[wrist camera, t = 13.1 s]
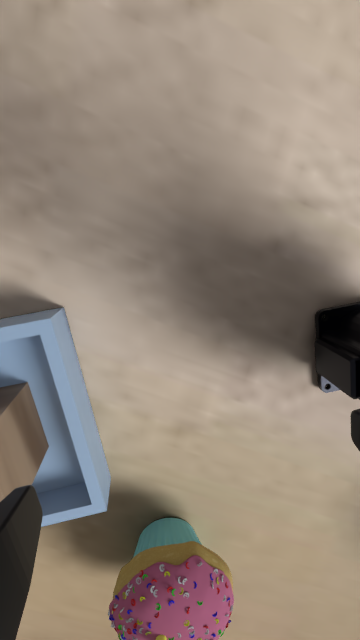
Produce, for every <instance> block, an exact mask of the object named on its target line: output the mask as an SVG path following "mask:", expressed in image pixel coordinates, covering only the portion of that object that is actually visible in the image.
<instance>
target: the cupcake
mask: <svg viewBox="0 0 360 640" xmlns="http://www.w3.org/2000/svg"><path fill="white" fill-rule="evenodd" d="M233 603H234V597H233V582H232V576H231V572H230V570H229V568H228V566H227V564H226V563H225V562H224V561H223V560H222V559H221V558H220V557H219V556H218V555H217V554H215V553H214V552H212V551H211V550H209V549H207V548H206V547H204V546H203V545H202V544H201V543H200V541H199V539H198V537H197V536H196V534H195V532H194V530H193V528H192V527H191V525H190V524H188V523H187V522H186V521H184V520H181V519H178V518H163V519H159V520H156V521H154V522H152V523H151V524H149V525H148V526H147V527H146V528H145V529H144V530H143V532H142V533H141V535H140V537H139V540H138V544H137V547H136V550H135V553H134V556H133V559H132V560H131V561H130V562H129V563H127V564H126V565H125V566H124V567H123V568H122V569H121V571H120V573H119V575H118V579H117V582H116V585H115V588H114V592H113V600H112V602H111V603H110V605H109V612H108V616H109V615H110V616H109V620H111V621H112V625H111V627H112V628H113V627H114V629H115V630H116V631H117V633H118V637H119V639H120V640H218V638H219V637H221V636H222V635H223V633H224V630H225V628H227V627H228V623H230V622H231V620H229V618H230V615H231V612H232V609H233ZM226 625H227V626H226Z"/></svg>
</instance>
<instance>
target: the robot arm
mask: <svg viewBox="0 0 360 640" xmlns="http://www.w3.org/2000/svg"><path fill="white" fill-rule="evenodd" d="M324 314H325V318H324V319H322V316H323V315H324ZM315 323H316V341H315V357H316V372H317V373H318V383H319V388H320V389H321V390H322V391H323V392H325V393H328V392H333V391H337V390H342V391H343V392H344V393H346V394H347V395H348V396H350V397H351V398H352V399H360V302H356V303H351V304H346V305H341V306H336V307H332V308H327V309H322V310H319V311H318V312H317V313H316V316H315ZM326 384H328V385H327V387H325V385H326ZM351 437H352V440H353V442H354V444H355V445H356V447H357V448H358V450H359V451H360V409H357V410H354V411H352V413H351ZM42 518H43V511H42V507H41V504H40V501H39V499H38V496H37V493H36V490H35V488H34V487H33V486H32V485H26V486H22V487H18V488H15V489H14V490H13V491H12V492H11V493H10V494H8V495H7V496H6V497H5V498H4V499H3V500H2V501H1V502H0V640H15V639H16V635H17V632H18V628H19V625H20V621H21V617H22V614H23V610H24V607H25V603H26V599H27V595H28V592H29V588H30V583H31V579H32V574H33V568H34V563H35V557H36V551H37V546H38V540H39V535H40V529H41V524H42Z"/></svg>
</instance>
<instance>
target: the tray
mask: <svg viewBox="0 0 360 640" xmlns="http://www.w3.org/2000/svg"><path fill="white" fill-rule="evenodd" d="M25 382H28V384H29V387H30V390H31V393H32V396H33V399H34V402H35V405H36V408H37V411H38V414H39V417H40V420H41V423H42V427H43V430H44V433H45V436H46V439H47V442H48V445H49V448H48V450H47V452H46V454H45V456H44V459H43V461H42V463H41V465H40V468H39V470H38V472H37V474H36V476H35V479H34V481H33V483H32V486H33V487H34V488H35V490H36V493H37V496H38V499H39V501H40V504H41V507H42V511H43V518H42V524H41V527H43V526H47V525H51V524H55V523H59V522H64V521H68V520H72V519H76V518H80V517H84V516H88V515H93V514H97V513H101V512H105V511H107V505H108V497H109V490H110V482H111V476H110V472H109V469H108V465H107V462H106V458H105V454H104V451H103V447H102V443H101V440H100V436H99V433H98V429H97V425H96V422H95V418H94V415H93V411H92V407H91V404H90V400H89V397H88V393H87V389H86V386H85V382H84V379H83V375H82V371H81V368H80V364H79V360H78V357H77V353H76V350H75V346H74V342H73V339H72V335H71V332H70V328H69V324H68V321H67V317H66V314H65V310H64V307H62V308H57V309H51V310H46V311H41V312H35V313H30V314H25V315H19V316H14V317H9V318H3V319H0V387H5V386H10V385H15V384H20V383H25Z"/></svg>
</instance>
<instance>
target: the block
mask: <svg viewBox="0 0 360 640" xmlns="http://www.w3.org/2000/svg"><path fill="white" fill-rule="evenodd" d="M48 448H49V445H48V442H47V439H46V436H45V433H44V430H43V427H42V423H41V420H40V417H39V414H38V411H37V408H36V405H35V402H34V399H33V396H32V393H31V390H30V387H29V384H28V382H25V383H20V384H15V385H10V386H5V387H0V502H1V501H2V500H3V499H4V498H5V497H6V496H7V495H8V494H10V493H11V492H12V491H13V490H14V489H15V488H18V487H22V486H26V485H32V483H33V481H34V479H35V476H36V474H37V472H38V470H39V468H40V465H41V463H42V461H43V459H44V456H45V454H46V452H47V450H48Z"/></svg>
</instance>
